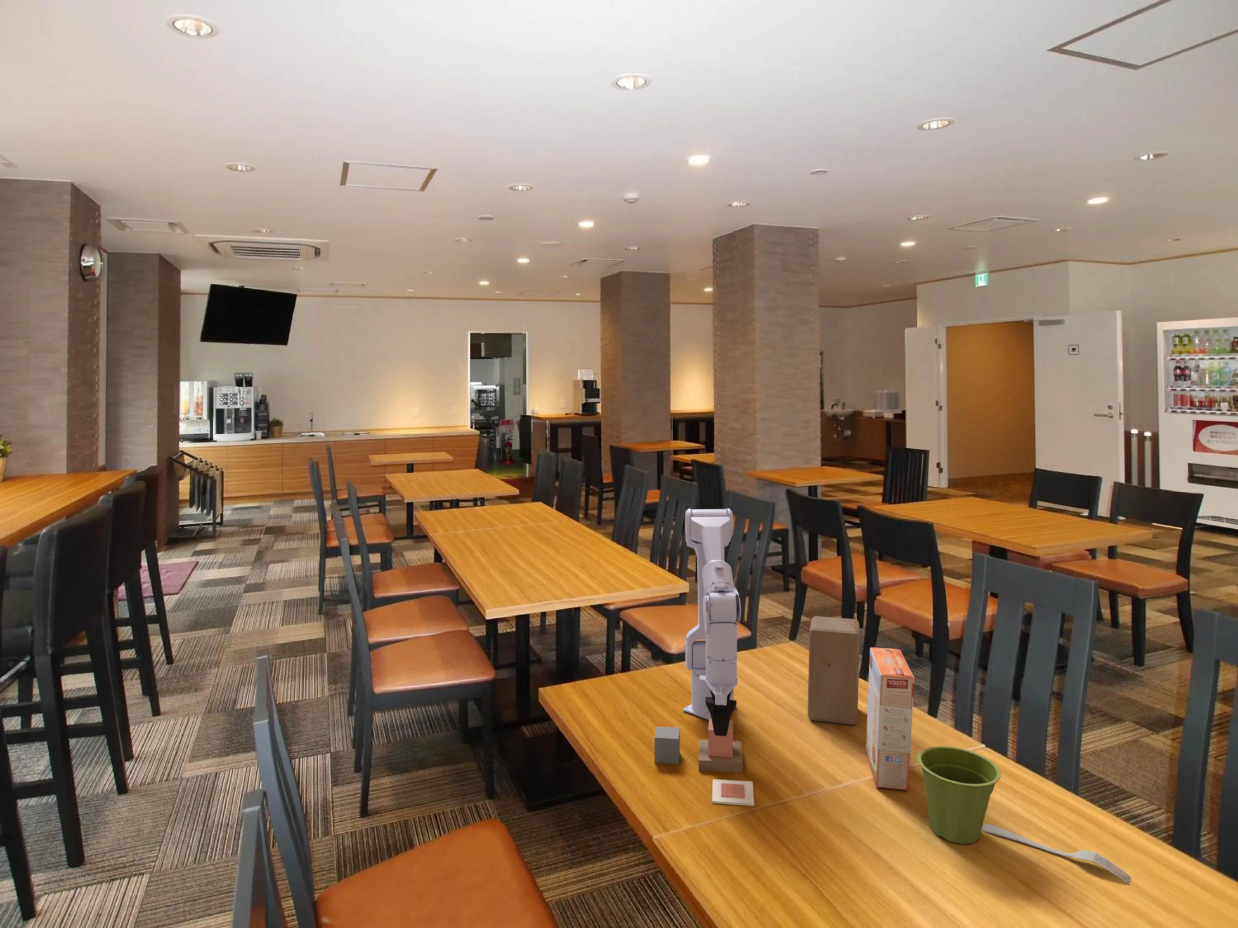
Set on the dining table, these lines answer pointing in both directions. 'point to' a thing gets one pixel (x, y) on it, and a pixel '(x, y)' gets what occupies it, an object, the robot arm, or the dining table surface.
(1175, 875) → the dining table surface
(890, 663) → the cracker box
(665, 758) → the charcoal block
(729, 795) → the card
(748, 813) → the dining table surface
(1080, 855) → the fork
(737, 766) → the walnut base block
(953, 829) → the plant pot
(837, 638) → the wooden block
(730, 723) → the brick red block
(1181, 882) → the dining table surface
